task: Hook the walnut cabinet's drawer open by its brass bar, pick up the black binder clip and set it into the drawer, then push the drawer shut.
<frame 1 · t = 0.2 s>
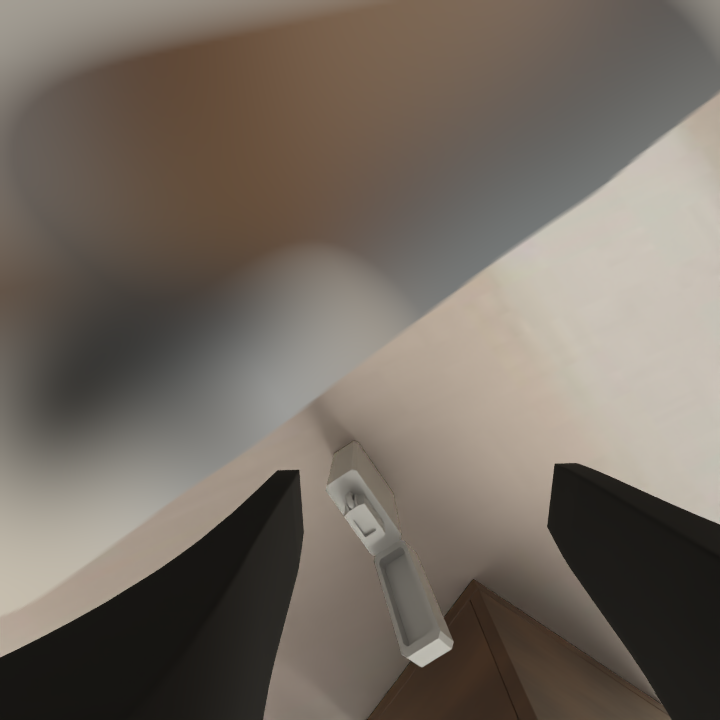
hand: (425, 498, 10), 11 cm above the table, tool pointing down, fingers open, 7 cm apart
lighter: (377, 494, 21), on the table
cabinet: (510, 716, 22), on the table
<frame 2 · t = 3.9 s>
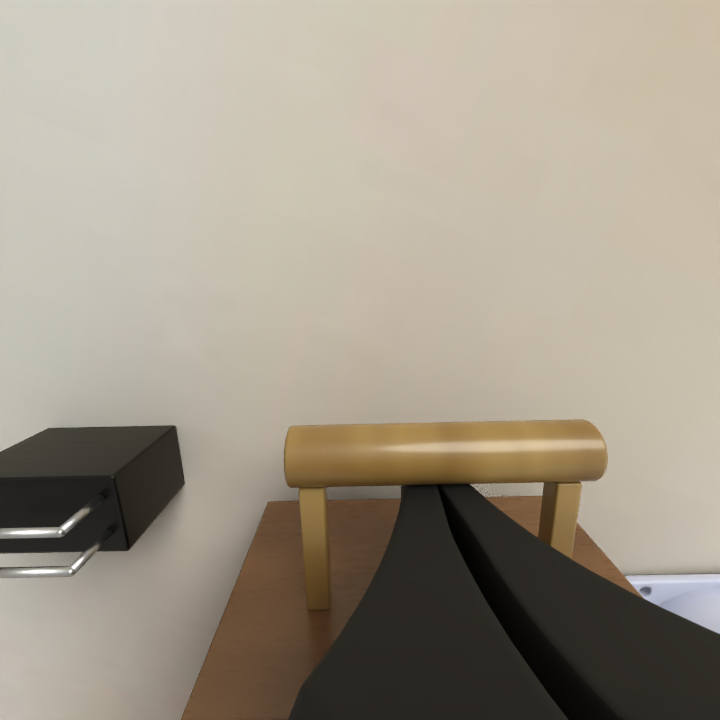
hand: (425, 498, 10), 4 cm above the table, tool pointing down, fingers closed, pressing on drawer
drawer: (424, 684, 11), point 4 cm above the table, slide at 2.0 cm, touching gripper
binder clip: (118, 456, 14), on the table
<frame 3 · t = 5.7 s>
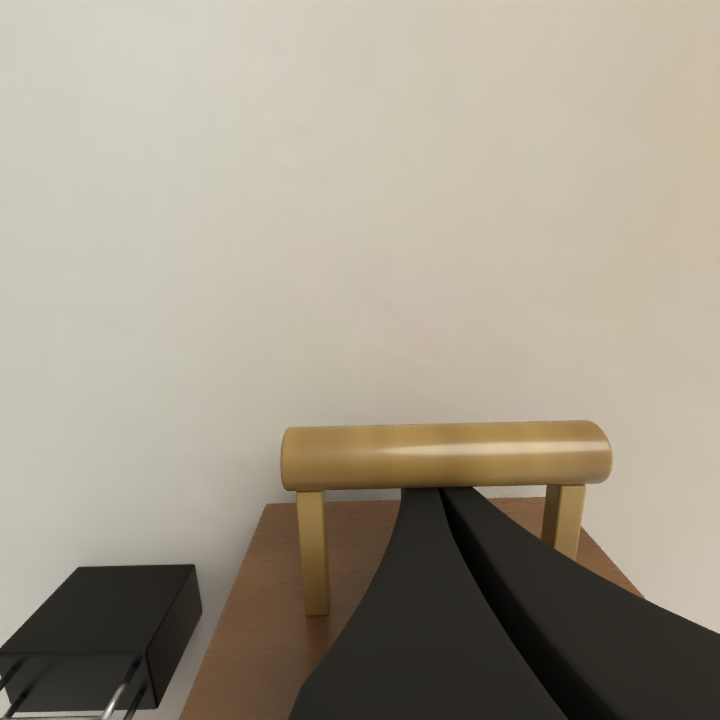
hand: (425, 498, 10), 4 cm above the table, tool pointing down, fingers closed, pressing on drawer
drawer: (425, 689, 11), point 4 cm above the table, slide at 8.3 cm, touching gripper
binder clip: (141, 589, 15), on the table
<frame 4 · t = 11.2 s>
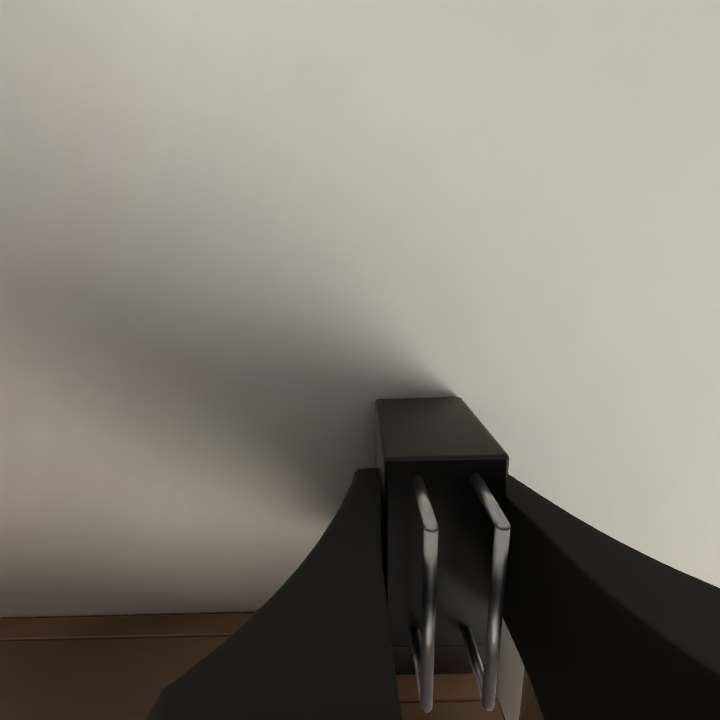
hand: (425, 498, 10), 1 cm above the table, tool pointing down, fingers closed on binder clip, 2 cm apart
binder clip: (416, 471, 11), on the table, touching gripper
when the fingers open (3 cm above the table, at t = 15.7 s): binder clip stays where it is, resting on drawer.
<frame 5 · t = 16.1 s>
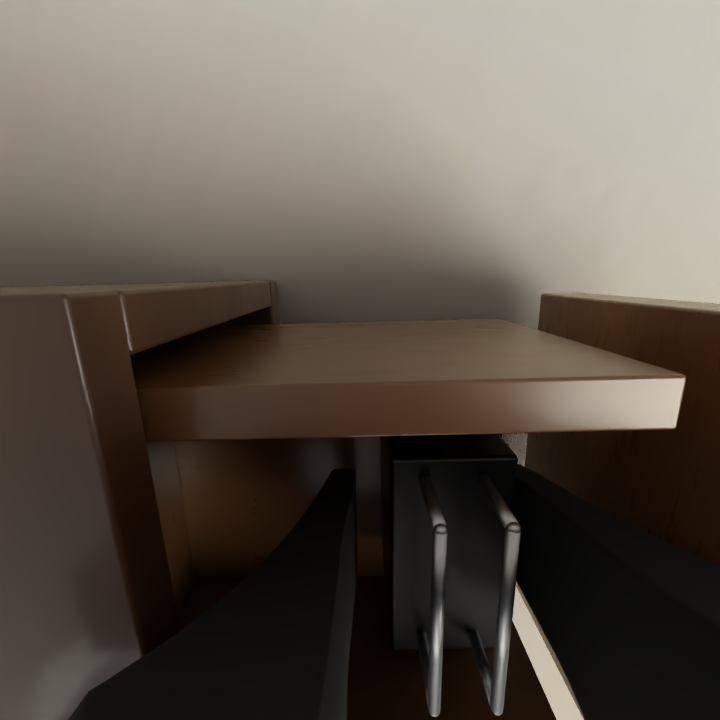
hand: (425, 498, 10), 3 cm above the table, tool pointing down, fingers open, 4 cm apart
drawer: (465, 521, 9), point 4 cm above the table, slide at 8.4 cm, touching binder clip, gripper
cabinet: (94, 450, 13), on the table
binder clip: (421, 471, 11), point 2 cm above the table, touching drawer
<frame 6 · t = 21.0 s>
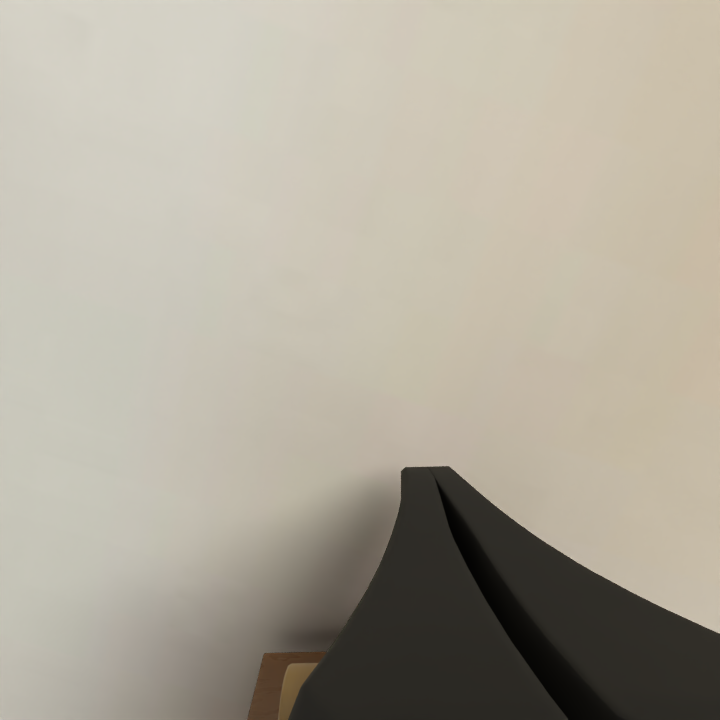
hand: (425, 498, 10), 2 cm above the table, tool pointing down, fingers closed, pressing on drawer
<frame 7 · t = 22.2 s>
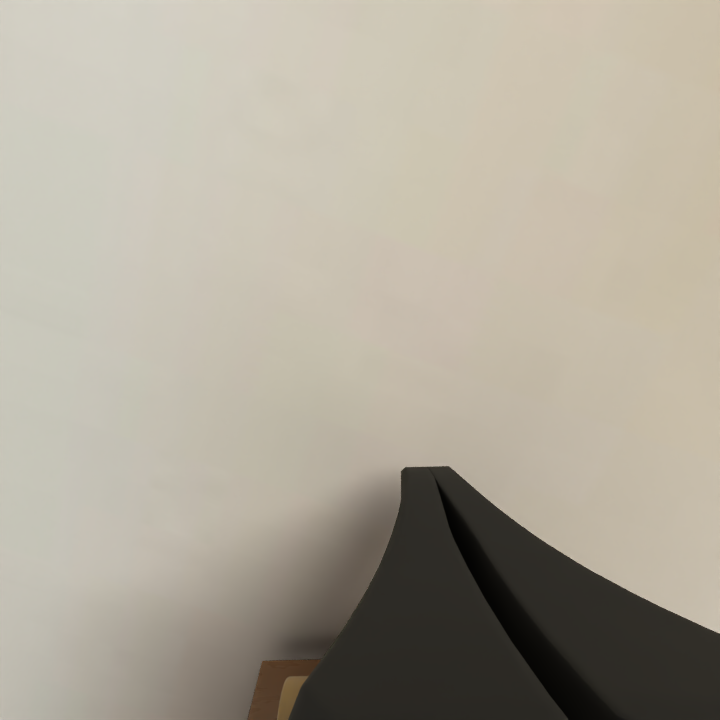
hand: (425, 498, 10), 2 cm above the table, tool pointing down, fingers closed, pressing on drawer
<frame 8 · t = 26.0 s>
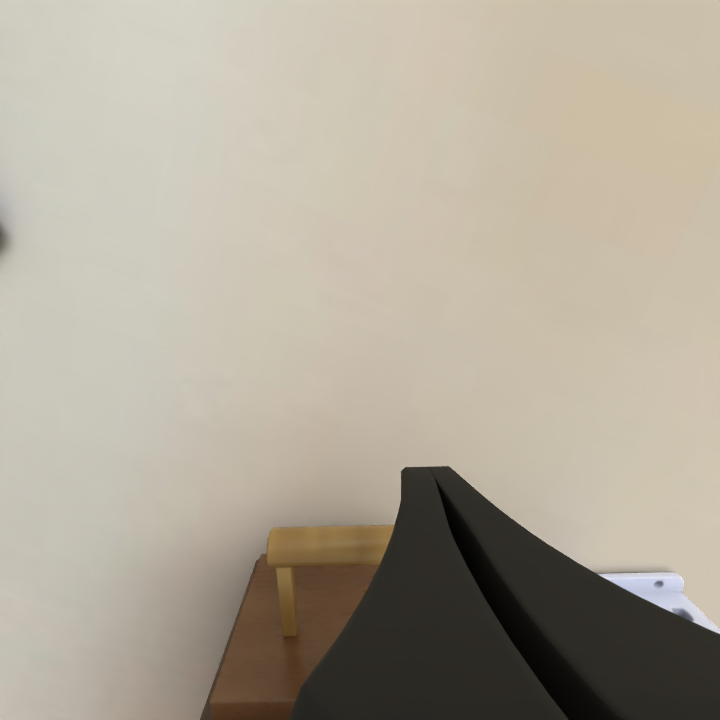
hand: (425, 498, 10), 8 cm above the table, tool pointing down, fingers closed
drawer: (363, 681, 17), point 4 cm above the table, slide at 0.0 cm, touching binder clip, cabinet
cabinet: (363, 654, 22), on the table
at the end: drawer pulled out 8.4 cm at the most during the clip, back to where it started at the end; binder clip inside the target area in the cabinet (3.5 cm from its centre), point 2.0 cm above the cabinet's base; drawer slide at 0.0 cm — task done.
